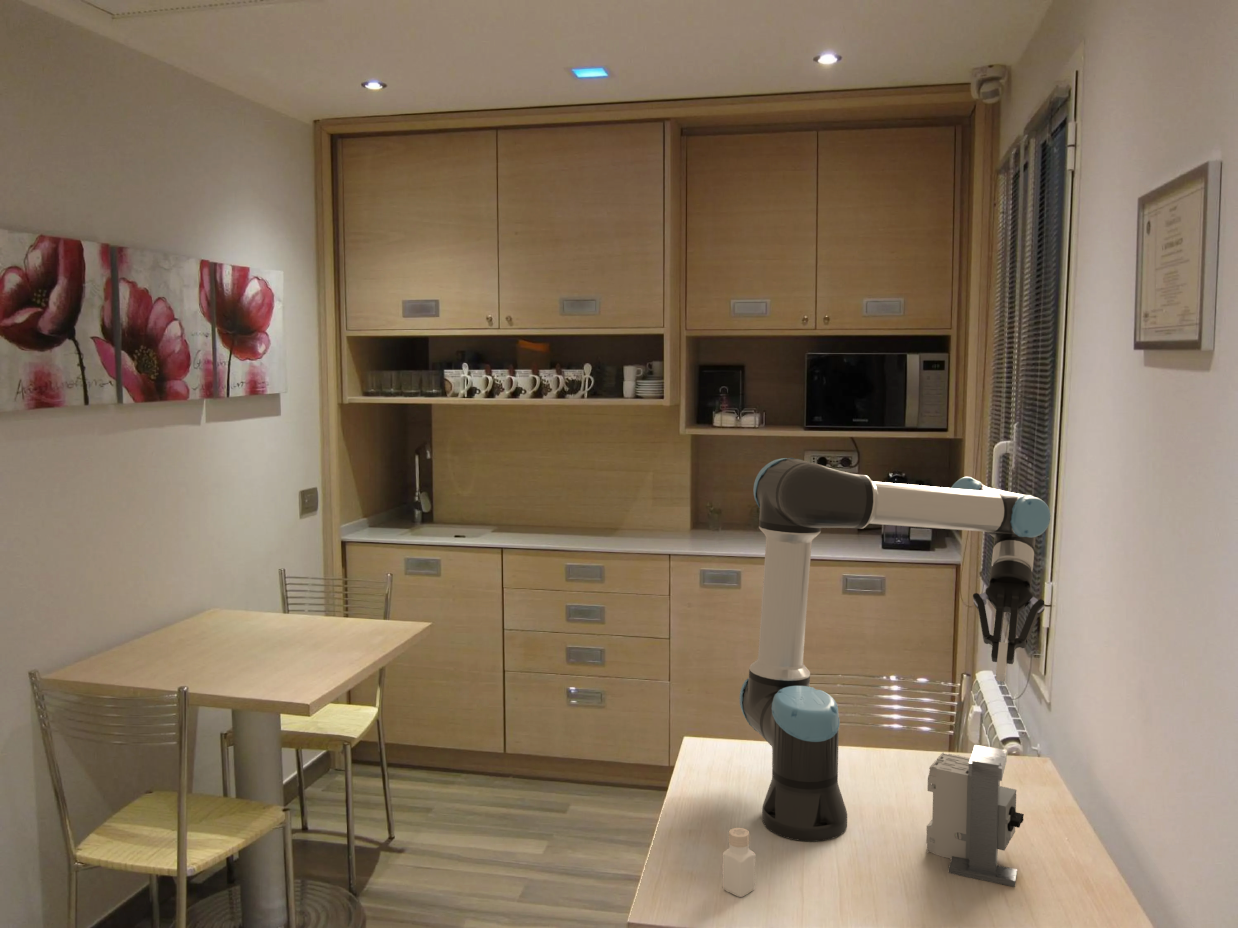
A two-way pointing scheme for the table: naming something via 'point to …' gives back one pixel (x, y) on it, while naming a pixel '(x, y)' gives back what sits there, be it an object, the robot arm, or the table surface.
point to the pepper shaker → (739, 864)
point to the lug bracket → (985, 819)
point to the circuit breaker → (961, 809)
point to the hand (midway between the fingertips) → (1000, 677)
